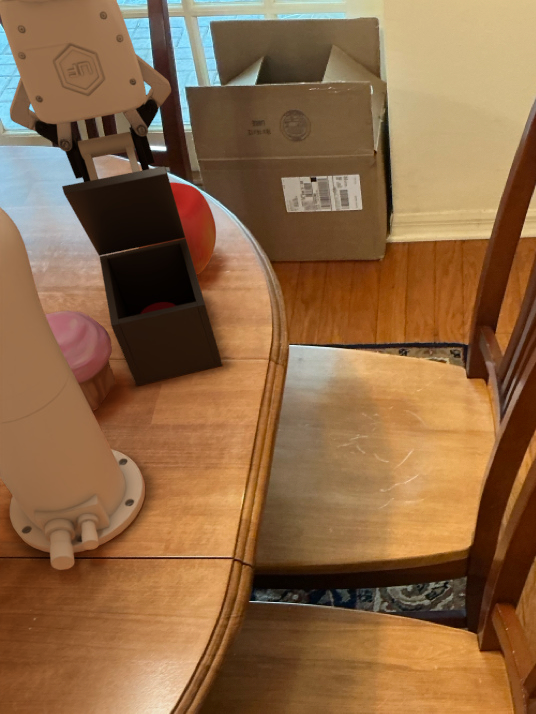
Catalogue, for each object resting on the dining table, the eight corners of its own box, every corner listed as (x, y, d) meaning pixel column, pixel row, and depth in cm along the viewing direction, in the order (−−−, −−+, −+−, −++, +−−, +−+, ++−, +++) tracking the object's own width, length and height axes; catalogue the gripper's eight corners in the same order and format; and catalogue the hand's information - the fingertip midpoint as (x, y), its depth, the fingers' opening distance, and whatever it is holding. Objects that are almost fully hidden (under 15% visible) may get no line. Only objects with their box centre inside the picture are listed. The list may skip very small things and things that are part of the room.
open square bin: (222, 365, 86) (205, 304, 79) (136, 386, 84) (111, 325, 78) (203, 299, 93) (185, 238, 86) (123, 317, 91) (99, 256, 85)
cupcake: (103, 432, 80) (67, 358, 72) (31, 417, 82) (-13, 343, 74) (143, 375, 85) (112, 300, 77) (74, 363, 87) (37, 288, 79)
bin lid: (167, 173, 73) (150, 114, 73) (64, 194, 71) (46, 133, 71) (185, 237, 86) (171, 187, 86) (98, 256, 84) (84, 205, 84)
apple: (185, 239, 101) (164, 164, 92) (241, 261, 97) (224, 186, 89) (133, 278, 96) (106, 203, 88) (190, 302, 93) (167, 227, 85)
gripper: (-66, -3, 59) (34, 214, 74) (154, -38, 62) (208, 178, 77) (-65, -37, 64) (29, 175, 78) (141, -68, 66) (195, 142, 81)
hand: (117, 174), depth 78 cm, fingers closed on bin lid, 5 cm apart
